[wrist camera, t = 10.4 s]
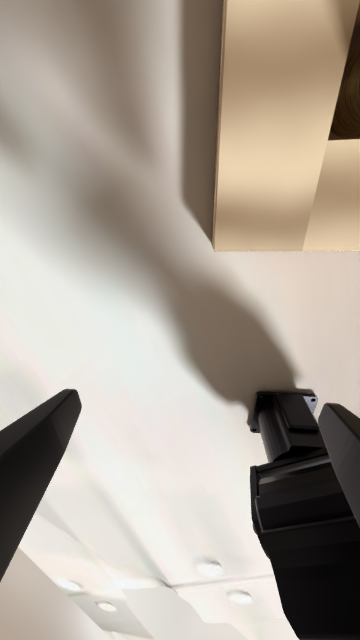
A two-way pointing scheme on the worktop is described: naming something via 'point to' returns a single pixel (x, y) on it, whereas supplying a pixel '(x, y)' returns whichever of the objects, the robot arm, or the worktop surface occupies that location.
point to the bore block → (285, 128)
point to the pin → (348, 102)
